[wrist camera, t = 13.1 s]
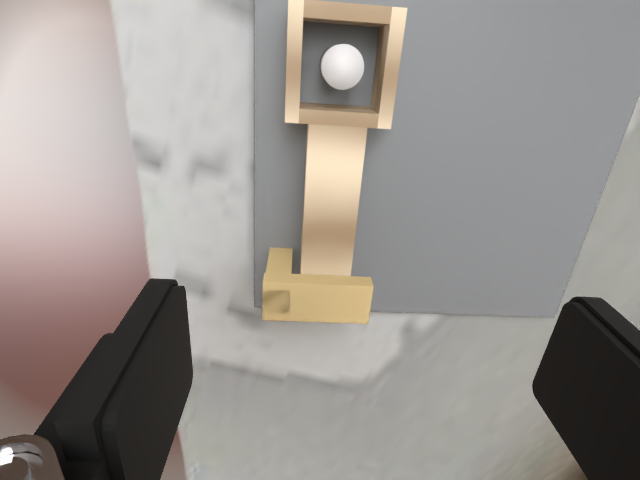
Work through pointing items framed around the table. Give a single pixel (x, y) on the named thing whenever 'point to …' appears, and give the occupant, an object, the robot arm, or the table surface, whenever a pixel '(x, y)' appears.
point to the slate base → (449, 154)
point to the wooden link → (338, 131)
